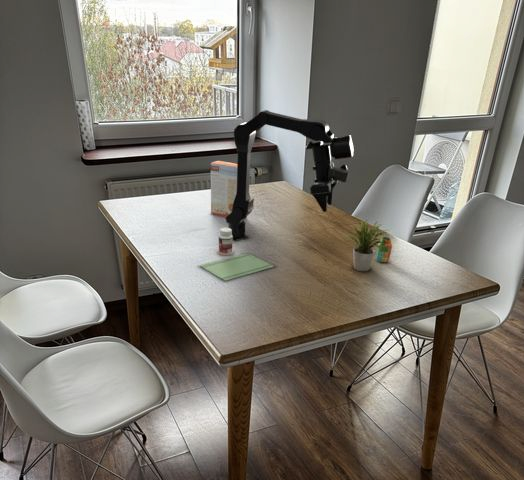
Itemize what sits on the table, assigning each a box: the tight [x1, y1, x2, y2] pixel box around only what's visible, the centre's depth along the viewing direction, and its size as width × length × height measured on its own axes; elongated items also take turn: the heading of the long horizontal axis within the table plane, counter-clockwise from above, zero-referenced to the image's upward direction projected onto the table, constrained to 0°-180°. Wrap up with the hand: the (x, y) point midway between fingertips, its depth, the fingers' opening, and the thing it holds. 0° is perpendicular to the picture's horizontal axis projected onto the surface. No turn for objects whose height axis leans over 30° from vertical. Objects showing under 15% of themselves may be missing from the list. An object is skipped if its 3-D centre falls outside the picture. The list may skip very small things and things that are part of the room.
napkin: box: [199, 253, 275, 282], centre depth 170 cm, size 14×20×1 cm
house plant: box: [347, 219, 388, 272], centre depth 168 cm, size 14×14×16 cm
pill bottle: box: [218, 227, 234, 256], centre depth 177 cm, size 5×5×8 cm
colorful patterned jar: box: [376, 236, 393, 263], centre depth 177 cm, size 5×5×8 cm
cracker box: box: [210, 160, 237, 218], centre depth 210 cm, size 14×6×21 cm, turn 58°
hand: (327, 208), depth 178 cm, fingers open, 9 cm apart
